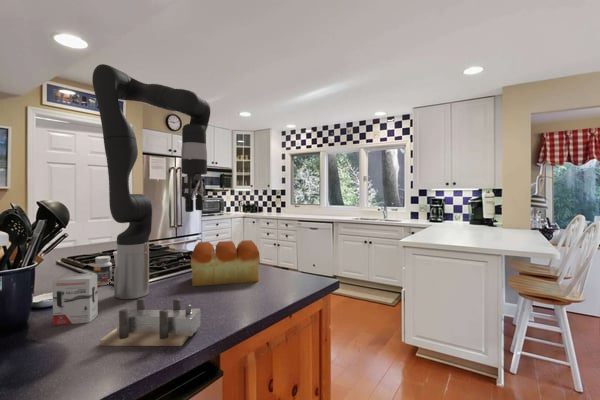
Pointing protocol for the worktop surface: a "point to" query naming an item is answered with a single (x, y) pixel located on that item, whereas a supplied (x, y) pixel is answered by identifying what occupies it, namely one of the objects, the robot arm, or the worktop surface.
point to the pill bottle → (103, 270)
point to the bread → (225, 263)
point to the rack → (144, 339)
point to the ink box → (75, 298)
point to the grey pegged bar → (177, 321)
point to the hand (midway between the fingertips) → (194, 211)
